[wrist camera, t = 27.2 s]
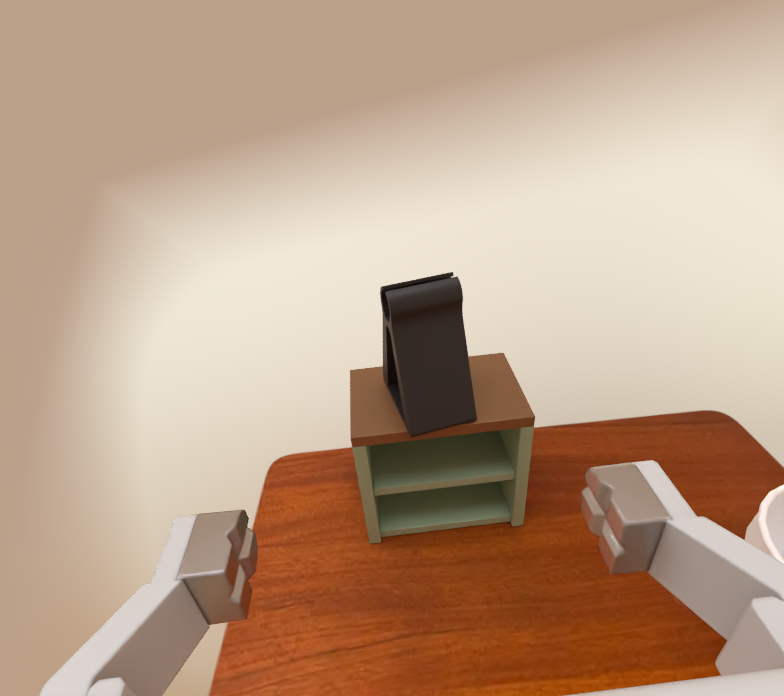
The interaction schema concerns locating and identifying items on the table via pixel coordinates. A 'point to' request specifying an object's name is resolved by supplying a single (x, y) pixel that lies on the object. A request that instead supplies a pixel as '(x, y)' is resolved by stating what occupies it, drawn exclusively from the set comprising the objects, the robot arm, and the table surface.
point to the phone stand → (427, 354)
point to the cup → (769, 525)
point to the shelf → (442, 456)
